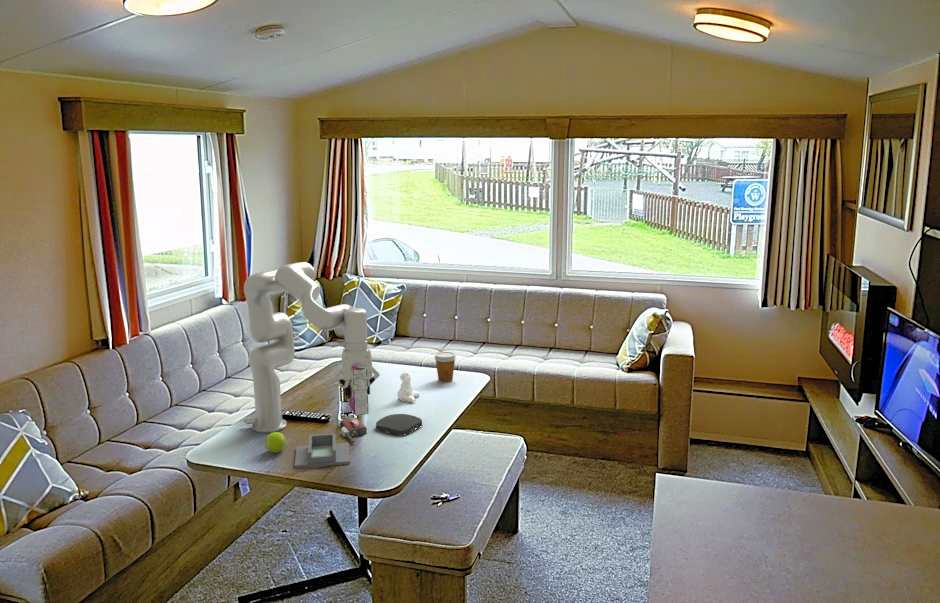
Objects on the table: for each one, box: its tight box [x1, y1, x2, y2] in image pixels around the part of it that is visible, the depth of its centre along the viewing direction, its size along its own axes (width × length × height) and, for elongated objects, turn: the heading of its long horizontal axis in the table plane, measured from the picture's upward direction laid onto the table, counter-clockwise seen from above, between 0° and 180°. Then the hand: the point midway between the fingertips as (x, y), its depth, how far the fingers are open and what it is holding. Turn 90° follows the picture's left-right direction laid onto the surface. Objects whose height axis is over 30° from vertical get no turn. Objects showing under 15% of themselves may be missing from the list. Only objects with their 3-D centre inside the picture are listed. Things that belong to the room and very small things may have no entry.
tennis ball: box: [264, 431, 287, 453], centre depth 264 cm, size 7×7×7 cm
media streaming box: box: [375, 413, 423, 436], centre depth 286 cm, size 15×15×3 cm
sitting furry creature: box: [396, 371, 420, 404], centre depth 315 cm, size 10×9×12 cm
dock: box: [294, 433, 351, 469], centre depth 260 cm, size 18×16×5 cm
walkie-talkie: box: [339, 417, 368, 444], centre depth 280 cm, size 9×4×20 cm
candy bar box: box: [347, 366, 369, 416], centre depth 257 cm, size 11×5×16 cm, turn 20°
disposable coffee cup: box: [434, 351, 457, 383], centre depth 339 cm, size 10×10×12 cm
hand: (357, 396), depth 257 cm, fingers closed on candy bar box, 5 cm apart
